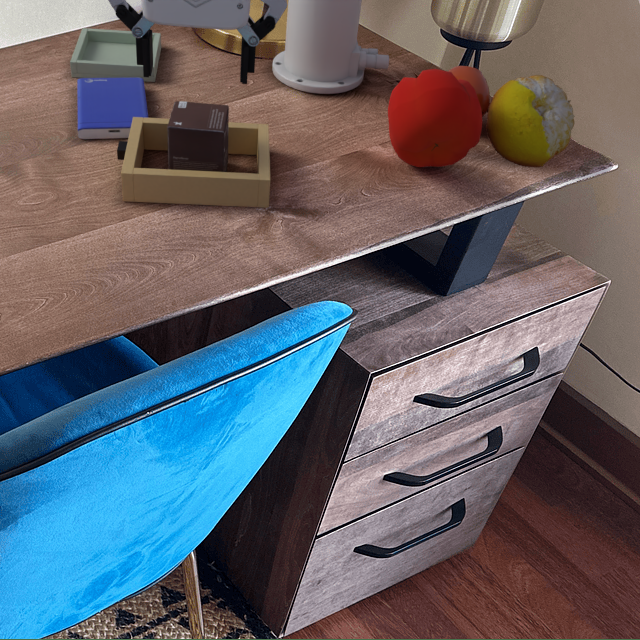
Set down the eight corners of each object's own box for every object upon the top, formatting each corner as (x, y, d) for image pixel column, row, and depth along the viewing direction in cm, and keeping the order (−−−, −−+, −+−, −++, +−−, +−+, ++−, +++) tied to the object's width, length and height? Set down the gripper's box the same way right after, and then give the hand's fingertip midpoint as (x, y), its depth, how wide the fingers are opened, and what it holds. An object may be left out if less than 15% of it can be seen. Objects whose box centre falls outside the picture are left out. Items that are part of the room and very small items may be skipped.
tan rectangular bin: (267, 150, 98) (268, 124, 96) (268, 207, 89) (270, 180, 87) (125, 143, 96) (123, 116, 94) (113, 201, 88) (110, 172, 85)
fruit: (564, 177, 102) (580, 157, 94) (479, 170, 103) (487, 149, 95) (571, 91, 104) (587, 63, 96) (486, 84, 104) (495, 57, 97)
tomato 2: (508, 76, 104) (495, 138, 105) (467, 83, 111) (455, 142, 111) (465, 56, 100) (452, 121, 100) (425, 65, 107) (413, 126, 107)
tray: (161, 47, 116) (160, 32, 115) (154, 82, 108) (154, 67, 107) (83, 42, 115) (82, 27, 114) (71, 77, 107) (69, 61, 106)
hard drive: (76, 77, 104) (77, 127, 95) (143, 77, 106) (149, 125, 97) (78, 89, 105) (78, 139, 96) (144, 88, 107) (150, 137, 98)
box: (223, 191, 91) (224, 132, 86) (167, 187, 90) (166, 126, 86) (228, 162, 95) (230, 104, 90) (176, 158, 95) (174, 99, 90)
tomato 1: (453, 186, 101) (442, 125, 104) (507, 127, 90) (493, 61, 94) (373, 175, 97) (365, 112, 100) (420, 113, 87) (408, 45, 90)
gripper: (91, -106, 70) (104, 85, 81) (296, -87, 72) (282, 97, 83) (103, -128, 75) (114, 53, 86) (293, -110, 77) (280, 65, 88)
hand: (196, 75), depth 85 cm, fingers open, 9 cm apart
